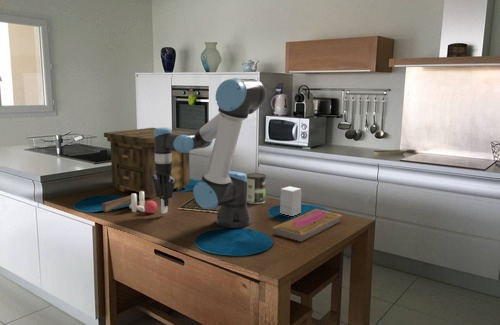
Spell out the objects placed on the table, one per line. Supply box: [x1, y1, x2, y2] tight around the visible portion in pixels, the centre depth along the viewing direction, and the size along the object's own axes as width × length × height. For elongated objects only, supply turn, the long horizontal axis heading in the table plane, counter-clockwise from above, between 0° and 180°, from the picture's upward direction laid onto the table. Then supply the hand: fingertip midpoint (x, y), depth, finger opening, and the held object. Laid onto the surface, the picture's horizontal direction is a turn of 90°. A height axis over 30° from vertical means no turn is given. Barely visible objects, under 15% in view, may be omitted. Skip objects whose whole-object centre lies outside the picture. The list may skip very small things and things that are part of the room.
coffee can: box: [246, 172, 267, 205], centre depth 226 cm, size 10×10×14 cm
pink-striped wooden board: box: [272, 208, 344, 242], centre depth 188 cm, size 35×14×6 cm, turn 141°
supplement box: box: [279, 185, 302, 217], centre depth 205 cm, size 7×7×13 cm
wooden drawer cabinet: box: [103, 127, 193, 199], centre depth 244 cm, size 35×35×33 cm
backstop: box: [102, 194, 139, 213], centre depth 213 cm, size 2×20×4 cm, turn 148°
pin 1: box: [131, 192, 138, 213], centre depth 206 cm, size 2×2×8 cm
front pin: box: [128, 204, 146, 212], centre depth 209 cm, size 2×2×8 cm
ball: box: [144, 200, 158, 214], centre depth 204 cm, size 6×6×6 cm
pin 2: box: [138, 191, 146, 207], centre depth 210 cm, size 2×2×8 cm
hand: (164, 212), depth 199 cm, fingers closed
